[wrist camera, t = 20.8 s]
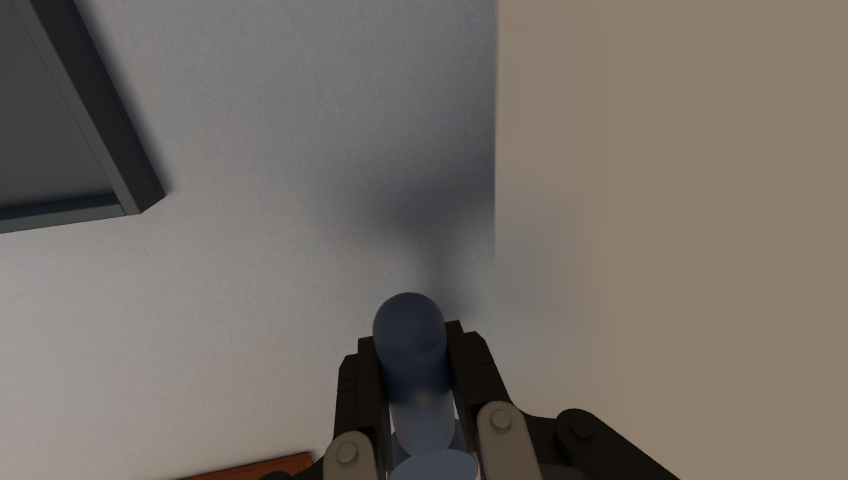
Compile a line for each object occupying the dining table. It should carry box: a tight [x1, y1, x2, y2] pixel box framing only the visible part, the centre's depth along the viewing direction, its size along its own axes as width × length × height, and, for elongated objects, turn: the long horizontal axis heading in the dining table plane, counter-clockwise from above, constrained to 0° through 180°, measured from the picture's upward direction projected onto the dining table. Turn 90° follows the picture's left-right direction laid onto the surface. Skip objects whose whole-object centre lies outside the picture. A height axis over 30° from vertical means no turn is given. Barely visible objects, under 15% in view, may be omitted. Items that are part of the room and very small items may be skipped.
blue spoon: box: [372, 292, 478, 480], centre depth 14 cm, size 11×4×2 cm, turn 6°
